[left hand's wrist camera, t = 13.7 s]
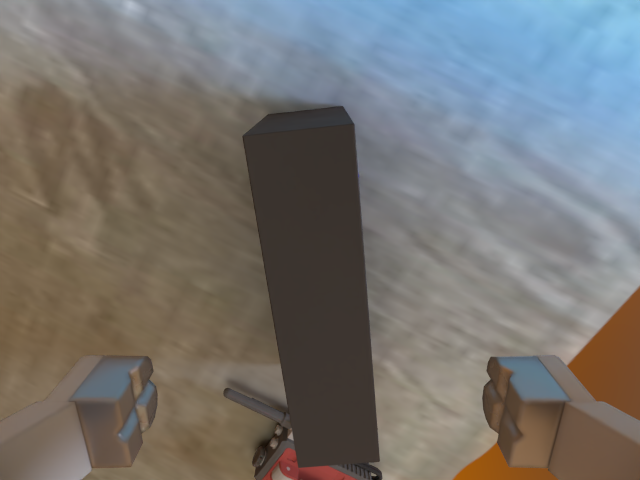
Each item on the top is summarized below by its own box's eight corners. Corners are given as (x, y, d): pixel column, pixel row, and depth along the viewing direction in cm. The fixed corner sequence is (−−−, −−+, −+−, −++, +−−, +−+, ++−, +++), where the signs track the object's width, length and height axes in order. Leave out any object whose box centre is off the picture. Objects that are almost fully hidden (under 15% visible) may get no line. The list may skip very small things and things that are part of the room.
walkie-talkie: (392, 452, 48) (231, 374, 44) (399, 488, 44) (222, 405, 40) (348, 501, 51) (193, 430, 47) (351, 539, 47) (181, 465, 43)
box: (267, 114, 35) (242, 135, 24) (342, 106, 35) (354, 123, 23) (303, 364, 44) (298, 468, 32) (364, 359, 44) (379, 461, 32)
